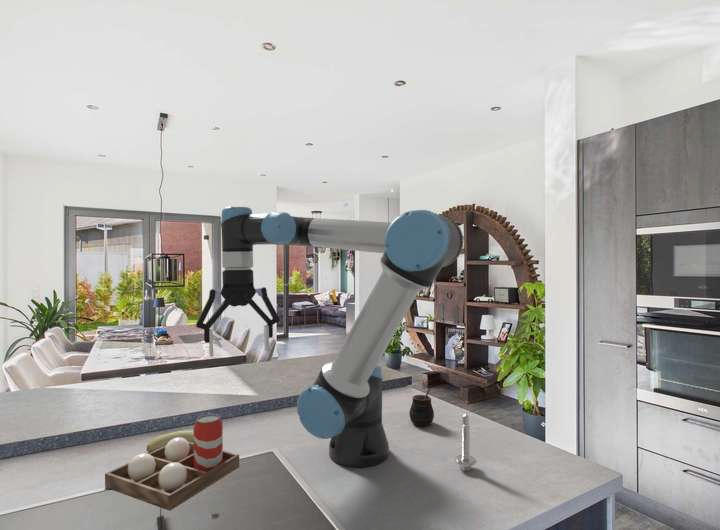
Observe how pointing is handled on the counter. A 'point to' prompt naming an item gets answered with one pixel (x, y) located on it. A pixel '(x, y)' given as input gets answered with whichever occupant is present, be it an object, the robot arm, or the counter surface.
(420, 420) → the mate gourd
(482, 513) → the counter surface
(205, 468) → the beverage can
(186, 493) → the crate
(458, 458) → the screw
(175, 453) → the egg
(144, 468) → the egg
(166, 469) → the egg
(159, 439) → the fruit
